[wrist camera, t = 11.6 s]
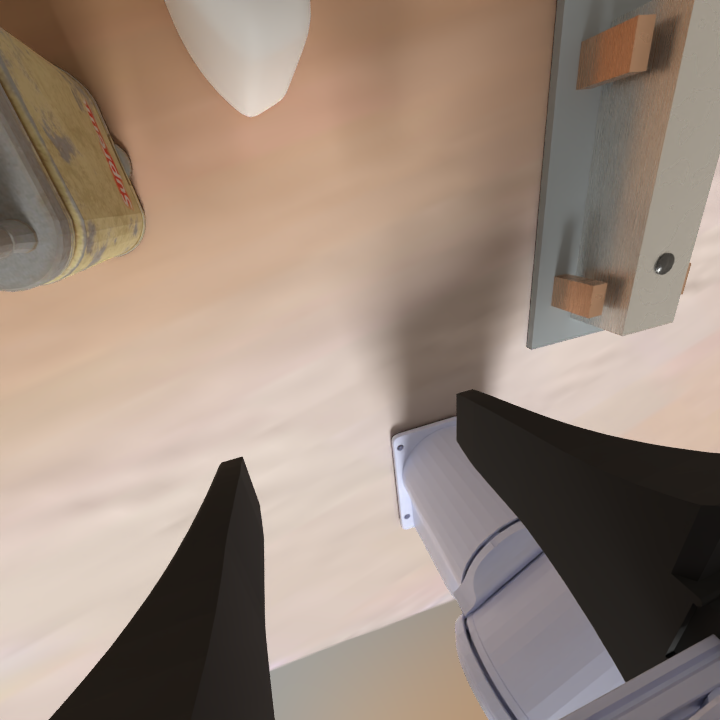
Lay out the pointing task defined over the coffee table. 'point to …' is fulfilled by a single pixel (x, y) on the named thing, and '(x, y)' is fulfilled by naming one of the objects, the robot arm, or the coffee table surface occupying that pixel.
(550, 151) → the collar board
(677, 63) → the silver long block
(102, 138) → the lighter
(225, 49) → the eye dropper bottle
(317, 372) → the coffee table surface
